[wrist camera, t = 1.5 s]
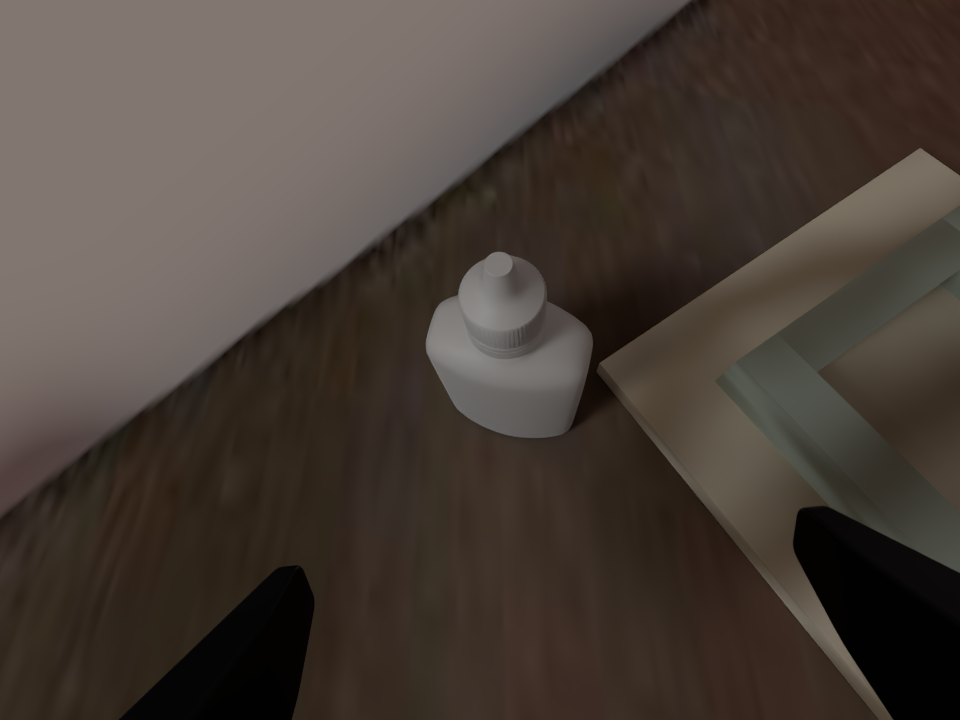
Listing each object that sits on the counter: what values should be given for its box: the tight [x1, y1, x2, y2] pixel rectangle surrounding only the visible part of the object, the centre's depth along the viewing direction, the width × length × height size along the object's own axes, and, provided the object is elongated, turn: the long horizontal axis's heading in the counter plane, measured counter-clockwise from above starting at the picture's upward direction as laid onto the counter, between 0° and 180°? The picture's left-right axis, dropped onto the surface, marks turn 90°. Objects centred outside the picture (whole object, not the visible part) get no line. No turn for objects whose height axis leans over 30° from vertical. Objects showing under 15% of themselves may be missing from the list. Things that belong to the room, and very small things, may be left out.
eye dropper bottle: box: [426, 252, 593, 438], centre depth 17 cm, size 4×6×12 cm
